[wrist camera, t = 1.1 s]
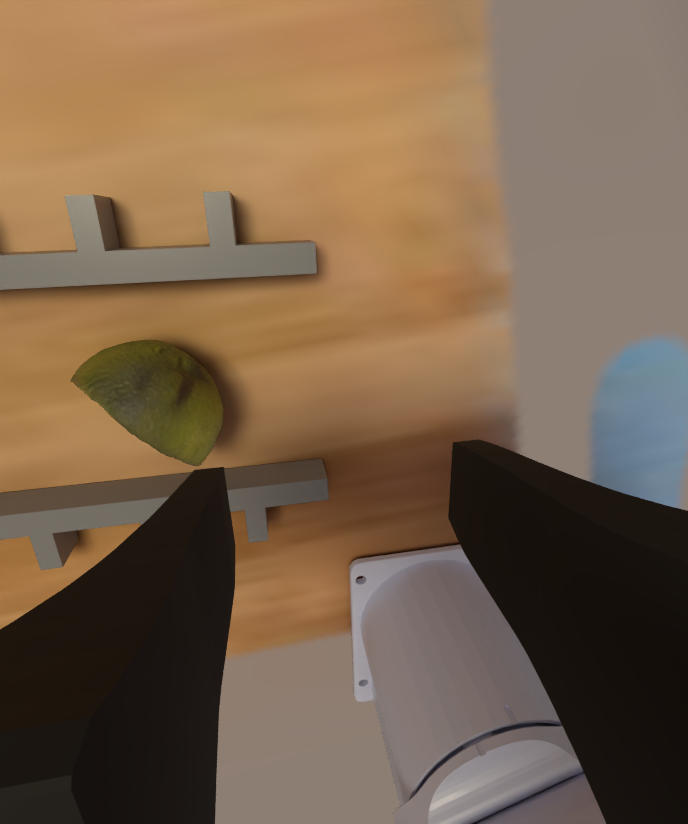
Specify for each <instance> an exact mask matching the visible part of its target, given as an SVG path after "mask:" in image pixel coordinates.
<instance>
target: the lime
mask: <svg viewBox="0 0 688 824" xmlns="http://www.w3.org/2000/svg"><path fill="white" fill-rule="evenodd" d="M71 382H74V384H75V385H76V386H77V387H79V388H80V389H81V390H82V391H84V393H85V394H87V395H88V396H89V397H90V398H91V399H92V400H94V401H95V402H97V403H99V405H100V406H102V407H103V408H104V410H105V411H106V412H108V414H109V415H110V416H111V417H112V418H114V419H115V420H116V421H117V422H118V423H120V424H121V425H122V426H123V427H124V428H126V429H127V430H128V431H129V432H130V433H131V434H133V435H135V436H136V437H138V438H139V439H140V440H142V441H143V442H146V443H148V444H149V445H150V446H152V447H153V448H155V449H157V450H158V451H159V452H160V453H163V454H165V455H167V456H169V457H174V458H175V459H178V460H181V461H182V462H184V463H186V464H190V465H193V466H199V465H201V463H202V462H203V461H204V460H205V459H206V457H207V456H208V455H209V453H210V452H211V450H212V449H213V447H214V444H215V442H216V440H217V437H218V434H219V432H220V430H221V427H222V421H223V415H224V413H223V405H222V401H221V397H220V394H219V392H218V389H217V386H216V384H215V382H214V381H213V379H212V378H211V376H210V375H209V374H208V372H207V371H206V370H205V369H204V367H203V366H202V365H200V364H199V362H197V361H196V360H194V359H193V358H192V356H190V355H188V354H186V353H185V352H183V351H182V350H179V349H177V348H176V347H174V346H172V345H170V344H168V343H165V342H162V341H157V340H140V341H132V342H127V343H124V344H119V345H116V346H113V347H110V348H107V349H104V350H102V351H100V352H98V353H97V354H96V355H94V356H92V357H91V358H89V359H88V360H87V361H86V362H85V363H83V364H82V365H81V366H80V367H79V369H78V370H77V371H76V372H75V374H74V375H73V377H72V379H71Z"/></svg>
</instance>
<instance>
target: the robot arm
mask: <svg viewBox="0 0 688 824" xmlns="http://www.w3.org/2000/svg"><path fill="white" fill-rule="evenodd" d="M448 518H449V520H450V522H451V525H452V527H453V530H454V532H455V534H456V537H457V539H458V541H459V543H460V545H454V546H447V547H439V548H432V549H425V550H418V551H411V552H404V553H397V554H390V555H382V556H375V557H368V558H361V559H357V560H354V561H353V562H352V563H351V564H350V567H349V578H350V606H351V635H352V660H353V661H352V662H353V663H352V664H353V691H354V697H355V699H356V700H357V701H359V702H365V701H371V700H374V703H375V707H376V711H377V715H378V719H379V723H380V727H381V731H382V735H383V739H384V743H385V748H386V752H387V756H388V760H389V764H390V768H391V772H392V776H393V780H394V784H395V788H396V793H397V797H398V801H399V805H400V807H398V808H396V809H394V810H393V812H392V813H393V817H394V822H395V824H688V511H686V510H682V509H678V508H674V507H670V506H666V505H662V504H659V503H655V502H652V501H648V500H645V499H641V498H638V497H634V496H630V495H627V494H624V493H621V492H618V491H614V490H611V489H608V488H605V487H603V486H600V485H597V484H594V483H591V482H589V481H586V480H583V479H580V478H577V477H574V476H572V475H570V474H567V473H564V472H562V471H559V470H557V469H554V468H551V467H549V466H547V465H544V464H542V463H539V462H537V461H534V460H532V459H529V458H527V457H525V456H522V455H520V454H517V453H515V452H513V451H510V450H508V449H505V448H502V447H500V446H497V445H495V444H492V443H489V442H486V441H482V440H470V441H460V442H453V450H452V467H451V483H450V500H449V516H448ZM359 576H364V577H363V578H361V579H356V578H357V577H359ZM234 589H235V541H234V534H233V527H232V520H231V513H230V506H229V499H228V492H227V485H226V478H225V472H224V467H219V468H209V469H200V470H194V471H193V472H192V473H191V474H190V475H189V476H188V477H187V479H186V480H185V481H184V482H183V483H182V484H181V485H180V486H179V487H178V488H177V489H176V490H175V492H174V493H173V494H172V495H171V496H170V497H169V498H168V499H167V500H166V501H165V502H164V503H163V504H162V505H161V506H160V507H159V508H158V509H157V510H156V512H155V513H154V514H153V515H152V516H151V517H150V518H149V519H148V520H146V521H145V522H144V523H143V524H142V525H141V526H140V527H139V528H138V529H137V530H136V531H135V532H133V533H132V534H131V535H130V536H129V537H128V538H127V539H126V540H125V541H124V542H123V543H121V544H120V545H119V546H118V547H117V548H116V549H115V550H114V551H112V552H111V553H110V554H109V555H108V556H106V557H105V558H104V559H103V560H101V561H100V562H99V563H98V564H96V565H95V566H94V567H92V568H91V569H90V570H88V571H87V572H86V573H85V574H83V575H82V576H81V577H79V578H78V579H77V580H75V581H74V582H73V583H71V584H70V585H68V586H67V587H66V588H64V589H63V590H61V591H60V592H58V593H57V594H55V595H53V596H52V597H50V598H49V599H47V600H46V601H44V602H43V603H41V604H40V605H38V606H37V607H35V608H34V609H32V610H30V611H29V612H27V613H26V614H24V615H23V616H21V617H20V618H18V619H17V620H15V621H14V622H12V623H10V624H9V625H7V626H5V627H4V628H2V629H0V824H215V803H216V802H215V801H216V771H217V770H216V769H217V745H218V720H219V705H220V694H221V685H222V678H223V669H224V663H225V656H226V649H227V641H228V634H229V627H230V620H231V612H232V605H233V597H234Z"/></svg>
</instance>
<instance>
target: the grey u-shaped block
mask: <svg viewBox="0 0 688 824" xmlns="http://www.w3.org/2000/svg"><path fill="white" fill-rule="evenodd" d="M203 196H204V203H205V211H206V219H207V226H208V234H209V241H210V244H206V245H182V246H158V247H133V248H120V245H119V240H118V235H117V230H116V225H115V220H114V215H113V210H112V205H111V200H110V197H104V196H98V195H65V200H66V204H67V209H68V213H69V217H70V221H71V226H72V230H73V234H74V239H75V243H76V247H77V250H61V251H36V252H12V253H0V290H5V289H25V288H44V287H63V286H83V285H102V284H122V283H141V282H161V281H180V280H199V279H219V278H238V277H258V276H277V275H297V274H316V273H317V267H316V248H315V242H313V241H310V240H303V241H279V242H255V243H237V234H236V225H235V216H234V207H233V198H232V194H231V192H230V191H221V192H203ZM224 472H225V478H226V485H227V492H228V499H229V506H230V512H233V511H241V510H245V516H246V524H247V531H248V539H249V543H251V542H259V541H266V540H268V515H267V507H274V506H282V505H290V504H299V503H307V502H315V501H323V500H329V498H328V479H327V475H326V471H325V468H324V464H323V461H322V458H320V459H311V460H302V461H292V462H283V463H274V464H265V465H255V466H246V467H237V468H228V469H224ZM191 473H192V472H191ZM191 473H181V474H172V475H163V476H153V477H144V478H135V479H126V480H116V481H107V482H98V483H89V484H79V485H70V486H61V487H52V488H42V489H33V490H24V491H15V492H5V493H0V540H1V539H9V538H18V537H26V536H29V537H30V540H31V543H32V546H33V548H34V551H35V554H36V557H37V560H38V563H39V566H40V569H41V570H45V569H53V568H60V567H63V566H64V564H65V562H66V561H67V559H68V557H69V555H70V553H71V552H72V550H73V548H74V546H75V544H76V543H77V541H78V536H77V532H76V530H84V529H92V528H100V527H109V526H117V525H125V524H133V523H141V525H142V524H143V523H144V522H145V521H146V520H148V519H149V518H150V517H151V516H152V515H153V514H154V513H155V512H156V510H157V509H158V508H159V507H160V506H161V505H162V504H163V503H164V502H165V501H166V500H167V499H168V498H169V497H170V496H171V495H172V494H173V493H174V492H175V490H176V489H177V488H178V487H179V486H180V485H181V484H182V483H183V482H184V481H185V480H186V479H187V477H188V476H189V475H190V474H191Z"/></svg>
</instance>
